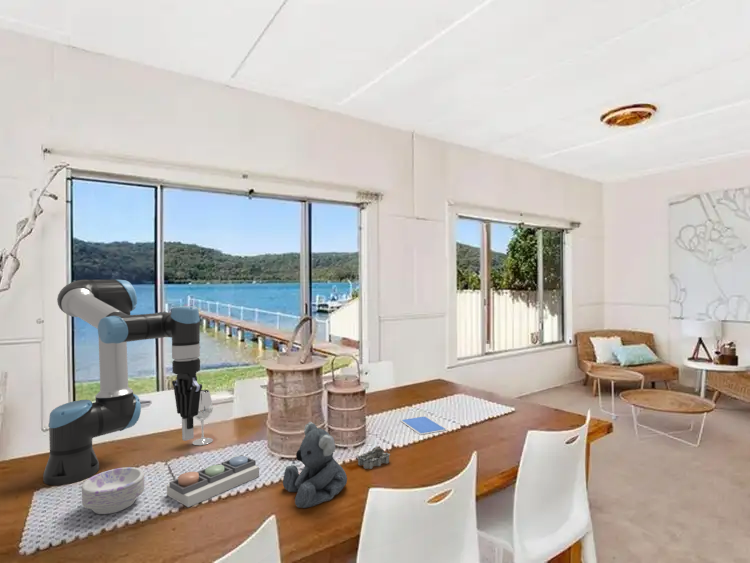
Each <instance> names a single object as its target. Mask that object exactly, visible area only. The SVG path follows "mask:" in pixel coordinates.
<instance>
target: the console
mask: <svg viewBox="0 0 750 563" xmlns="http://www.w3.org/2000/svg"><path fill="white" fill-rule="evenodd" d="M240 456H244V455H242V454H241V455H240ZM246 457H247V458H248V463H246V464H243V465H240V466H238V467H234V466H231V465H230V463H229V460H230V459H228V460H224V461H222V462H221V463H217V464H216V465H223V466H224V472H223V473H220V474H218V475H215V476H213V477H210V476H208V475H205V469H206V468H204V469H201V470H198V471H197V472H198V473H199V481H198V482H197V483H195V484H193V485H190V486H179V485H178V478H177V479H174V480H172V481H170V482H169V483H168V484H167V485H166V495H167V496H168V497H170V498H171V499H173V500H175V501H177V502H179V503H180V504H181V505H183V506H185V507H187V508H190V507H192V506H194V505H197V504H199V503H201V502H204V501H205V500H206V501H207V500H208V499H210V498H212V497H215V496H217V495H219V494H222V493H225V492H226V491H228V490H231V489H233V488H235V487H237V486H240V485H242V484H245V483H247V482H249V481H252V480H254V479H257V478H259V477H260V466H258V465H256V464H257V462H256V460H255V459H253V458H250V457H248V456H246Z"/></svg>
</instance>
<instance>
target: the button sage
mask: <svg viewBox="0 0 750 563" xmlns="http://www.w3.org/2000/svg"><path fill="white" fill-rule="evenodd" d="M204 469H205V475H208V476H210V477H213V476H215V475H218V474H220V473H223V472H224V466H223V465H217V464H213V465H210V466H207V467H205V468H204Z"/></svg>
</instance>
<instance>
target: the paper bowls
mask: <svg viewBox="0 0 750 563" xmlns="http://www.w3.org/2000/svg"><path fill="white" fill-rule="evenodd" d="M145 484H146V482H145V472H144V470H143V469H141V468H139V467H138V468H137V467H134V466H133V467H131V466H130V467H129V466H128V467H118V468H112V469H109V470H106V471H102V472H100V473H97V474H94V475H92V476H90V477H88V478H87V480H86V479H85V481H84V483H82V485H81V504H82V506H83V507H84V508H85V509H89V510H92V512H94V513H95V514H98V515H110V514H114V513H119V512H121V511H124V510H126V509H128V508H129V507H130V506H132V505H133V504H134V503H135V502H136V499H138V498H139V497H140V496H141V495H142V494H143V493H144V491H145V488H146V487H145Z"/></svg>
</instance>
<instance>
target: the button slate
mask: <svg viewBox="0 0 750 563" xmlns="http://www.w3.org/2000/svg"><path fill="white" fill-rule="evenodd" d="M247 457H248V456H244V455H243V456H241V455H238V456H237V455H236V456H234V457H232V458H230V459H228V460H229V463H230V465H231V466H234V467H238V466H240V465H243V464H246V463H248V458H249V457H248V458H247Z"/></svg>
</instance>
